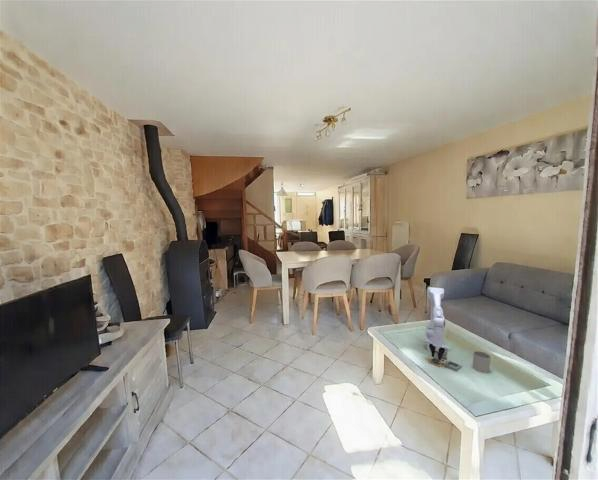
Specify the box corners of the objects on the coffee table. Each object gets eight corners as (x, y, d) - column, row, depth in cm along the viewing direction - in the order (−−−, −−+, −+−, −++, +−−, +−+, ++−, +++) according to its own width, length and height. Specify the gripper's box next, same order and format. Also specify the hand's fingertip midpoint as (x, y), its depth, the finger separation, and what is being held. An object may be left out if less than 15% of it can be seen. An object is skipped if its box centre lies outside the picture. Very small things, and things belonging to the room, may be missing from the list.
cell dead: (442, 356, 171) (442, 346, 171) (447, 358, 168) (448, 349, 168) (439, 358, 169) (440, 348, 169) (445, 360, 166) (446, 350, 166)
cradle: (450, 362, 165) (451, 358, 165) (463, 367, 159) (463, 363, 159) (443, 367, 159) (444, 363, 159) (456, 373, 153) (456, 368, 153)
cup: (485, 368, 160) (487, 352, 159) (491, 375, 152) (493, 359, 151) (470, 366, 162) (471, 350, 161) (475, 373, 154) (476, 356, 153)
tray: (435, 359, 169) (435, 356, 169) (446, 363, 164) (446, 361, 163) (427, 363, 163) (428, 361, 163) (439, 368, 157) (439, 366, 157)
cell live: (435, 359, 165) (435, 349, 164) (440, 361, 162) (441, 351, 161) (432, 360, 163) (432, 350, 162) (437, 363, 160) (438, 352, 159)
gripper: (423, 333, 165) (421, 354, 165) (447, 342, 153) (446, 364, 154) (428, 331, 169) (427, 351, 170) (452, 339, 157) (451, 361, 158)
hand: (436, 357), depth 162 cm, fingers closed on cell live, 3 cm apart
